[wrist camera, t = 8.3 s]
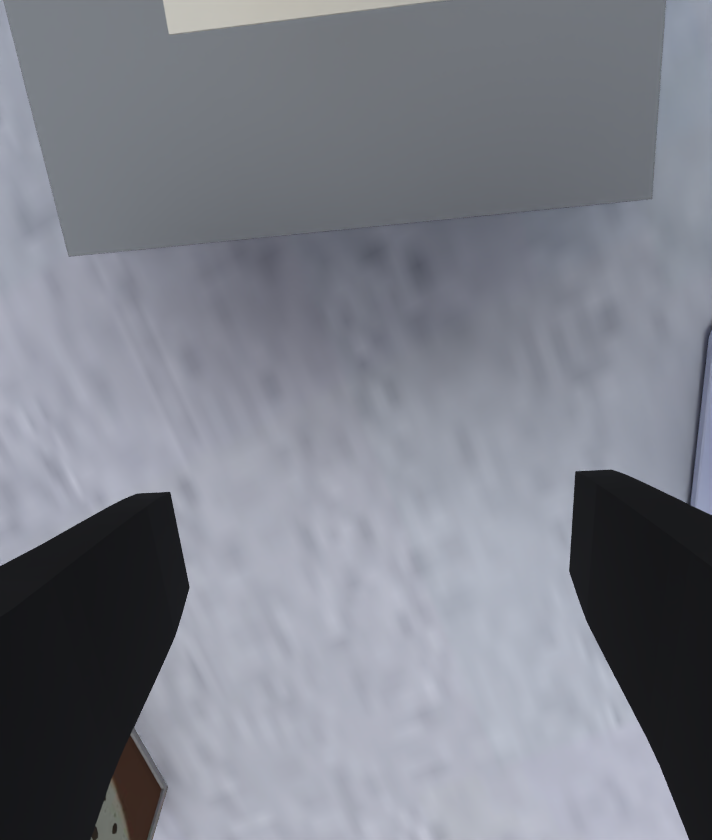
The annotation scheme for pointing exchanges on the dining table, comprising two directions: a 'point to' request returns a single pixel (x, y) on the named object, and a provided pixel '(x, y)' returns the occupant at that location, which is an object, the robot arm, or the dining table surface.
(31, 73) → the plinth
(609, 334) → the dining table surface
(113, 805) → the food container
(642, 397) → the dining table surface
